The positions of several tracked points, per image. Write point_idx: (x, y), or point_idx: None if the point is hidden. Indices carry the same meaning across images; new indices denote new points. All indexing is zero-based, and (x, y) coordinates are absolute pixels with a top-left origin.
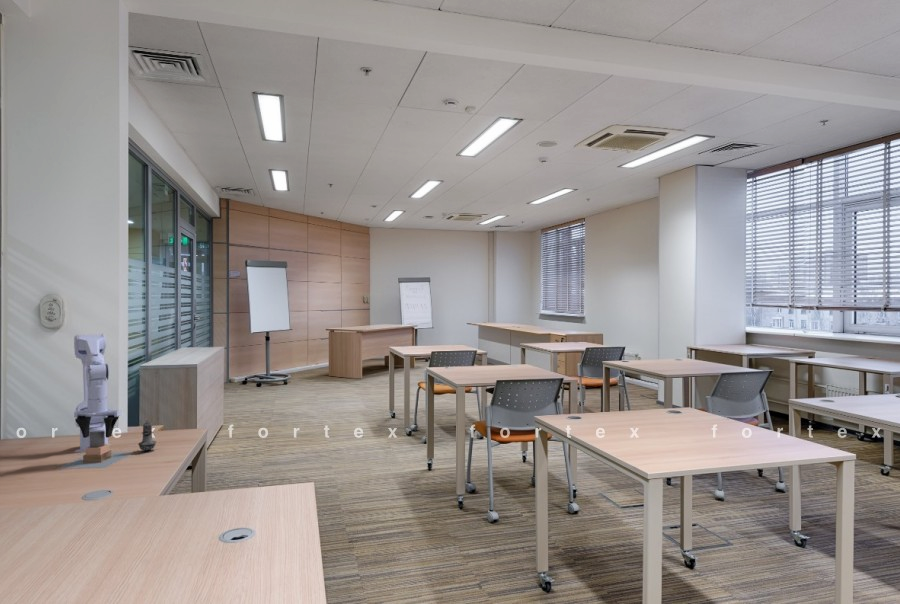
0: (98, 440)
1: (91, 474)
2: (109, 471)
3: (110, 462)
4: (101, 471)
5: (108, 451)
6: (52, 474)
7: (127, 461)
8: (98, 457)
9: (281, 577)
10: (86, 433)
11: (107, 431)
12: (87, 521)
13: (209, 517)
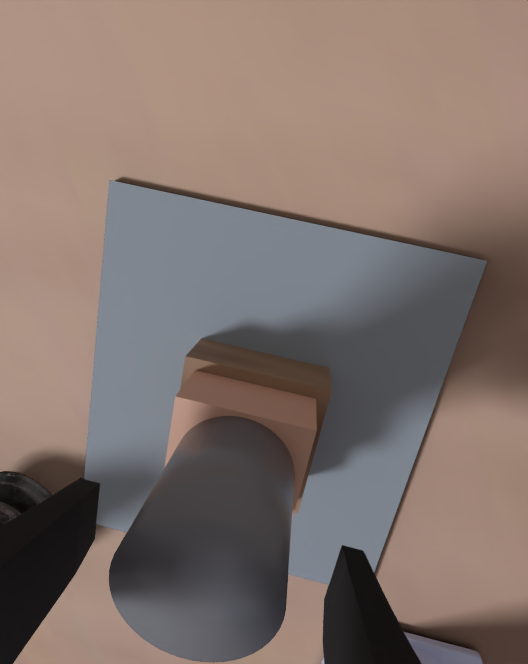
0: (183, 461)
1: (158, 38)
2: (55, 94)
3: (134, 317)
4: (116, 112)
5: None
6: (474, 128)
7: (46, 338)
8: (211, 355)
9: None
10: (339, 610)
11: (22, 518)
12: None
13: None
